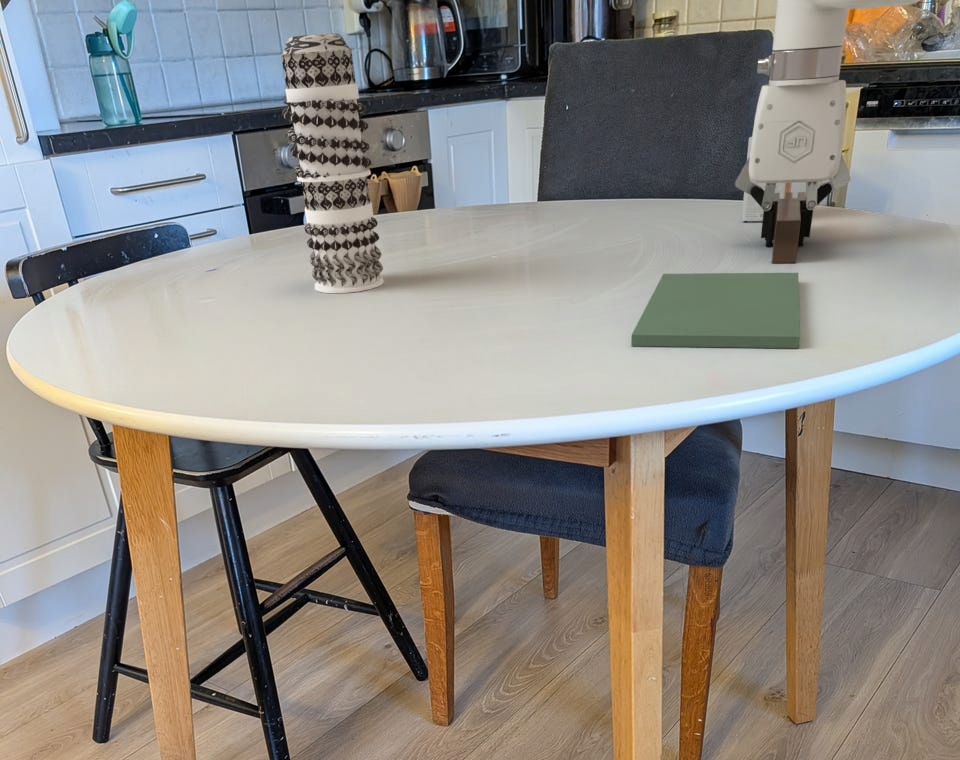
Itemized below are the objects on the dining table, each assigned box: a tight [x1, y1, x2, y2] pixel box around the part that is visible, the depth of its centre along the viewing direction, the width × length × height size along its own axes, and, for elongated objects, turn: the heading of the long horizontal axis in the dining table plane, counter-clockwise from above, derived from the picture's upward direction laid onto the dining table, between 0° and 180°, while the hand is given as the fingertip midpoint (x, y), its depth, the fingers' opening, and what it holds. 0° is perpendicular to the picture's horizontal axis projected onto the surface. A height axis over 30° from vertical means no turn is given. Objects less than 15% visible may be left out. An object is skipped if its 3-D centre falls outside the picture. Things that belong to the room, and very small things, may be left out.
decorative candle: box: [279, 33, 385, 294], centre depth 99 cm, size 9×9×25 cm
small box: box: [741, 136, 793, 222], centre depth 122 cm, size 8×6×10 cm
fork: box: [764, 191, 806, 264], centre depth 107 cm, size 21×5×4 cm, turn 164°
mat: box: [630, 272, 801, 349], centre depth 84 cm, size 24×14×1 cm, turn 164°
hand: (784, 242), depth 108 cm, fingers open, 3 cm apart
